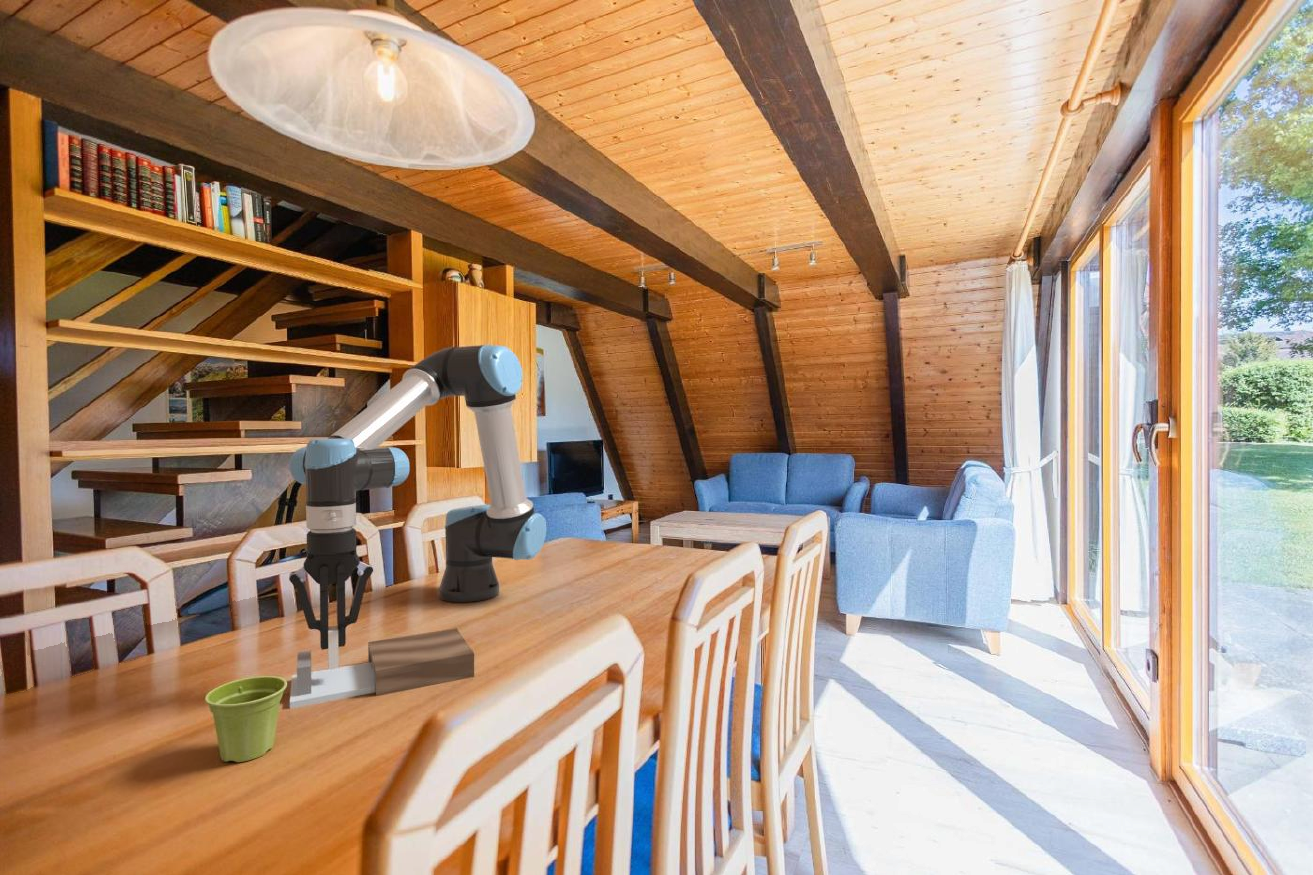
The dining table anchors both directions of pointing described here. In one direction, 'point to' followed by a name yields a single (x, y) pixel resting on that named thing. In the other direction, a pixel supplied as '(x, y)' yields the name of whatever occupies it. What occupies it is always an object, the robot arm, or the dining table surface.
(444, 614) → the dining table surface
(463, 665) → the walnut case
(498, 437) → the robot arm
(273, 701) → the plant pot
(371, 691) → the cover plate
